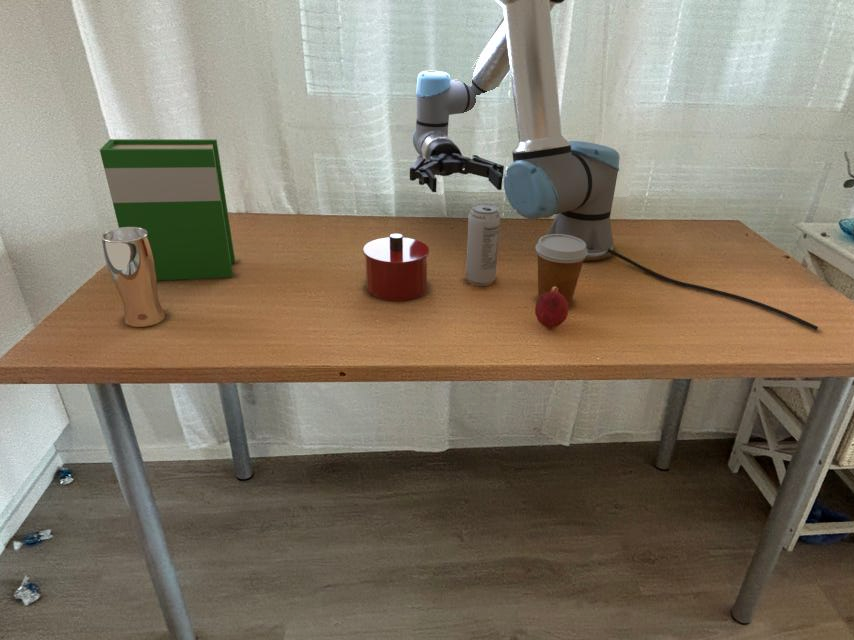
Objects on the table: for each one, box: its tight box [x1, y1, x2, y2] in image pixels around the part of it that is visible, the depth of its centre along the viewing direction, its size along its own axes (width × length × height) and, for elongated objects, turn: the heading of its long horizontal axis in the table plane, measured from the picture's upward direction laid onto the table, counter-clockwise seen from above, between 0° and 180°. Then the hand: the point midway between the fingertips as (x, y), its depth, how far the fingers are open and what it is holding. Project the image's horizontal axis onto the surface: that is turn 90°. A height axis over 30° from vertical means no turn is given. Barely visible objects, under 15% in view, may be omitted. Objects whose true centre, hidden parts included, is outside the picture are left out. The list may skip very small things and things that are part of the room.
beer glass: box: [100, 227, 166, 328], centre depth 104 cm, size 7×7×15 cm
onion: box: [534, 286, 570, 330], centre depth 111 cm, size 6×6×8 cm
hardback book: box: [99, 138, 236, 281], centre depth 118 cm, size 18×7×24 cm, turn 104°
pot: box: [364, 255, 428, 302], centre depth 122 cm, size 11×11×7 cm
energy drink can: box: [465, 203, 501, 287], centre depth 125 cm, size 6×6×15 cm
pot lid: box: [362, 233, 430, 265], centre depth 119 cm, size 12×12×4 cm
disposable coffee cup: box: [535, 234, 588, 308], centre depth 119 cm, size 10×10×12 cm
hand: (468, 184), depth 128 cm, fingers open, 13 cm apart
